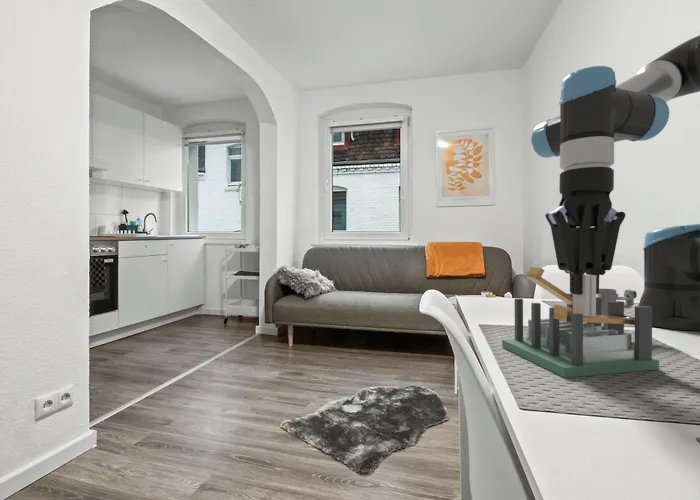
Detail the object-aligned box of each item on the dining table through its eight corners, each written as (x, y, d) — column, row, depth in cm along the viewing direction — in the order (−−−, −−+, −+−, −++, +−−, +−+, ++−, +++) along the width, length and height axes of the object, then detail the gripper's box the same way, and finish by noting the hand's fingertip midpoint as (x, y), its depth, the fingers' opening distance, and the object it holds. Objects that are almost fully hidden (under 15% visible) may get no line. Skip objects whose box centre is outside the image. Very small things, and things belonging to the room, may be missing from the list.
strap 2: (622, 321, 67) (623, 307, 67) (641, 326, 63) (642, 311, 63) (552, 318, 65) (553, 304, 65) (567, 323, 61) (569, 308, 61)
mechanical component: (638, 338, 80) (638, 290, 80) (583, 337, 82) (583, 290, 82) (631, 335, 83) (631, 288, 83) (578, 333, 85) (578, 288, 85)
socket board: (579, 341, 79) (579, 334, 79) (659, 369, 62) (659, 359, 62) (502, 347, 76) (502, 339, 76) (564, 377, 59) (564, 368, 59)
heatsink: (567, 336, 77) (567, 316, 77) (634, 359, 62) (634, 334, 62) (526, 339, 76) (526, 319, 76) (585, 363, 61) (585, 338, 61)
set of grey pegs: (577, 335, 78) (577, 293, 78) (652, 359, 62) (652, 306, 62) (514, 339, 76) (514, 296, 76) (576, 365, 60) (576, 311, 60)
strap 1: (577, 312, 77) (583, 301, 77) (591, 315, 73) (597, 304, 73) (524, 277, 75) (530, 266, 75) (536, 279, 71) (542, 268, 71)
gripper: (603, 174, 68) (601, 309, 68) (533, 172, 65) (532, 311, 66) (642, 166, 60) (640, 317, 61) (565, 163, 58) (563, 320, 59)
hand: (584, 314), depth 64 cm, fingers closed
